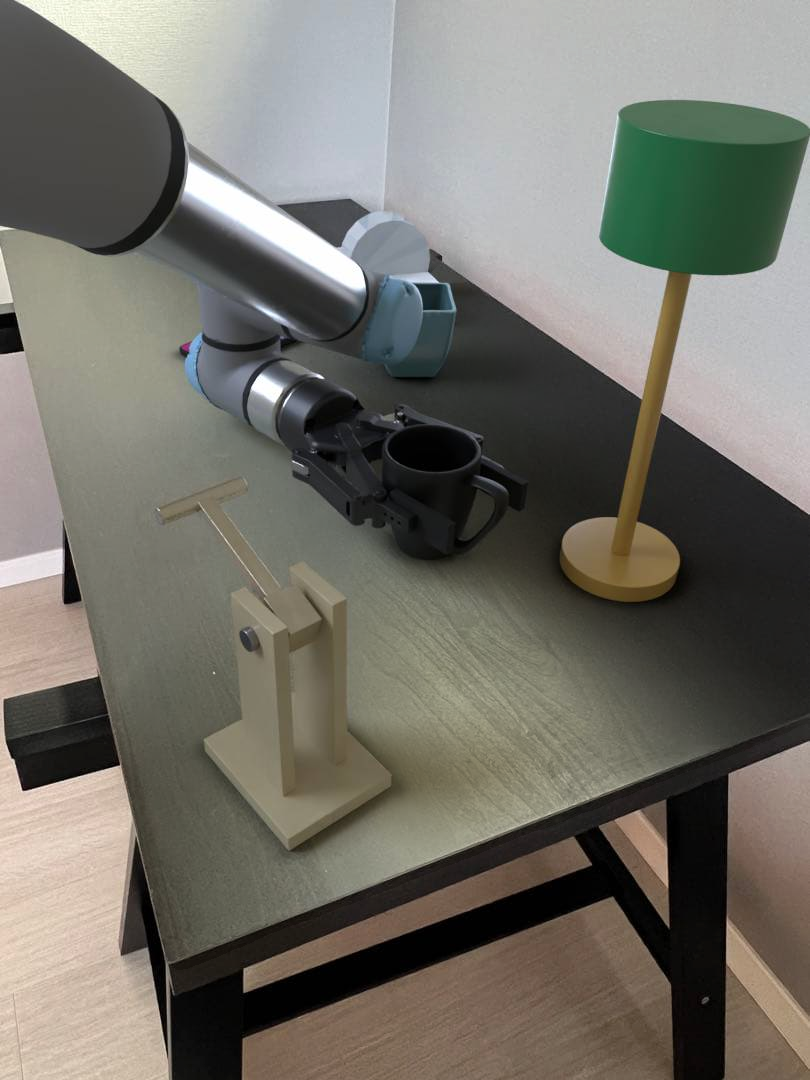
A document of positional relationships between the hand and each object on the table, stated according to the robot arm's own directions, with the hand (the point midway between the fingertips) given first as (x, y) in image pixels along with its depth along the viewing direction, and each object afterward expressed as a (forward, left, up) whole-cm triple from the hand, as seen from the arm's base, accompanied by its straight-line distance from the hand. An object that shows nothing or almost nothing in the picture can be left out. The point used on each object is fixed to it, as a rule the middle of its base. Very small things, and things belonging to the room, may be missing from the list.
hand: (488, 517), depth 76 cm
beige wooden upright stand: (-2, -25, -6) cm, 26 cm away
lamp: (+9, +7, -6) cm, 13 cm away
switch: (-6, -23, +7) cm, 25 cm away
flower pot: (-24, +31, -6) cm, 40 cm away
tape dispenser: (-37, +48, -6) cm, 61 cm away
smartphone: (-44, +26, -6) cm, 51 cm away
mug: (-5, +1, -6) cm, 8 cm away
